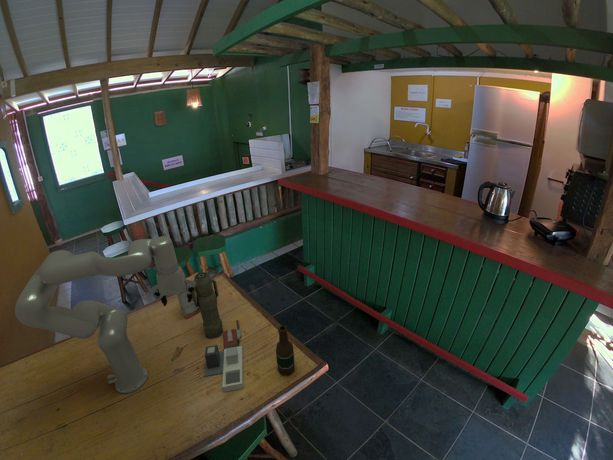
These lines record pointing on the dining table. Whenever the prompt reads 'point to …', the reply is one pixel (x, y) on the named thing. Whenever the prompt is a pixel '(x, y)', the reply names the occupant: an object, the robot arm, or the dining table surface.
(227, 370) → the power strip
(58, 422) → the dining table surface
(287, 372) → the beer bottle
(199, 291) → the thermos
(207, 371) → the mat
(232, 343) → the walkie-talkie
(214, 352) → the block
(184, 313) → the cracker box
